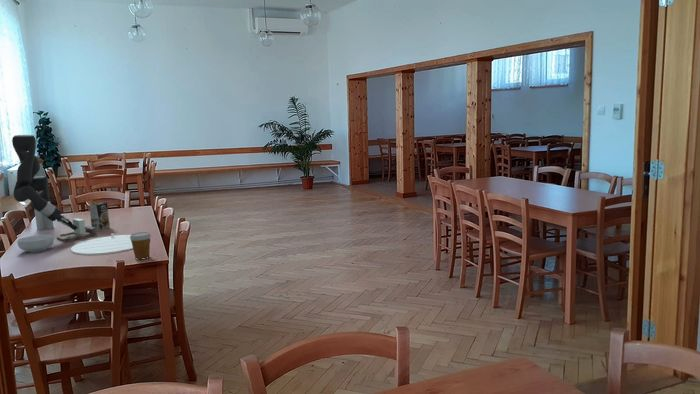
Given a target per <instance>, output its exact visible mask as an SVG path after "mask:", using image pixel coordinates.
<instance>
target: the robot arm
mask: <svg viewBox="0 0 700 394" xmlns="http://www.w3.org/2000/svg"><path fill="white" fill-rule="evenodd" d="M11 142H12V147H13V150H14V151H15V153H16V155H17V157H18V160H19V162H20V164H19V166H18V168H17V170H16V171H17V172H16V183H15V184H14V189H13V193H12V194H13V198H14V200H15V201H17V202H19V203H22V202H23V203H24V202H25V201H28V200H29V201H30V207H31V208H33V209H34V216H35V224H36V229H37V231H46V230H50V229H53V228H54V226H55V225H54V222H56V221H57V222H58V223H60V224H62V225H64V226H66V227H67V228H70V229H71V230H73V231H74V230H76V228H77V227H76V226H75V225H73V221H71V220H70V219H69V218H67V217H66V216H64V215H63V214H62V209H60V208H58V207H57V206H56V205H54V204H52V203H51V198H50V190H49V179H48V177H47V176H46V175H37V174H38V173H39V171H40V170H41V165H40V161H39V159H38V157H37V156H36V149H37V140H36V136H35V135H33V134H16V135H13V137H12V139H11ZM36 175H37V176H36ZM38 192H42V193H41V194H39V193H38Z"/></svg>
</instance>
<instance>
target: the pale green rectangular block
mask: <svg viewBox="0 0 700 394" xmlns="http://www.w3.org/2000/svg"><path fill="white" fill-rule="evenodd" d="M72 224H73V225H75V226H76V227H77V228H76V230H73V232H74V233H75V234H78V235H79V234H85V233H86V231H85V226H86V224H85V220H84V219H82V218H73V219H72Z"/></svg>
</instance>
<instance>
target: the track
mask: <svg viewBox="0 0 700 394" xmlns="http://www.w3.org/2000/svg"><path fill="white" fill-rule="evenodd" d="M85 231H86V233H85V234H79V235H78V234H75V233H74V231H71V232H70V231H69V232H67V233H61V234H60V235H59V236H56V240H58V241H60V242H63V243H66V242H71V241H77V240H82V239H87V238H91V237H97V236H98V234H97V231H96V228H94V227H92V226H89V225H85Z"/></svg>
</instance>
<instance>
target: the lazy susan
mask: <svg viewBox="0 0 700 394" xmlns="http://www.w3.org/2000/svg"><path fill="white" fill-rule="evenodd" d="M130 235H131V234H122V235H121V234H120V235H115V233H112V232H111V233H110V236H103V237H97V238H92V239H89V240H81V241H79V242H78V243H76V244H74V245H73V246H72V247H71V248H70V252H71V253H72V254H75V255H80V256H101V255H109V254H117V252H118V253H122V252H121V251H124V252H126V251H125V250H128V251H131V250H130V249H132V250H133V246H132V242H131V240H130Z"/></svg>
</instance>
